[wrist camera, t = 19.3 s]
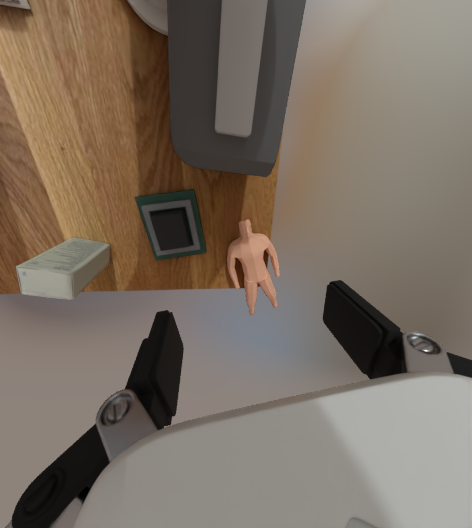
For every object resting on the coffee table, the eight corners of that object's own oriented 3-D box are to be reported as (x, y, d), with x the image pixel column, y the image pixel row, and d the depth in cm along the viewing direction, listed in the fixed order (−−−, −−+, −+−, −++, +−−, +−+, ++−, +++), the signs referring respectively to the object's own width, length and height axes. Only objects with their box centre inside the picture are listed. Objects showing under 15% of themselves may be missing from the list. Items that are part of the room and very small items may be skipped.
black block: (155, 212, 34) (149, 217, 31) (183, 208, 34) (181, 212, 31) (164, 244, 36) (160, 251, 33) (190, 240, 37) (189, 246, 34)
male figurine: (245, 324, 45) (214, 231, 31) (241, 309, 50) (212, 221, 36) (288, 311, 46) (276, 213, 32) (281, 297, 50) (267, 204, 36)
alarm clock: (247, 174, 34) (276, 178, 20) (182, 166, 32) (164, 164, 18) (264, 48, 27) (325, -78, 13) (181, 27, 25) (152, -147, 11)
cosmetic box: (74, 257, 36) (18, 294, 25) (73, 235, 34) (12, 265, 24) (111, 263, 38) (73, 301, 27) (111, 243, 36) (71, 274, 25)
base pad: (136, 196, 33) (132, 198, 31) (194, 189, 34) (193, 190, 32) (156, 258, 39) (154, 263, 37) (206, 251, 39) (206, 255, 37)
